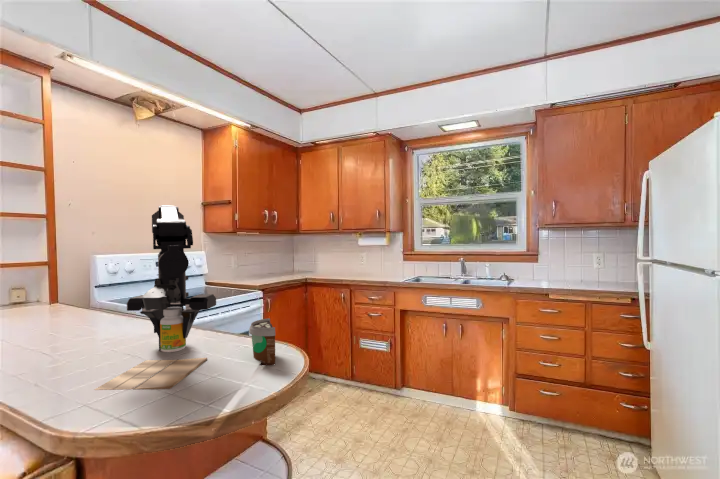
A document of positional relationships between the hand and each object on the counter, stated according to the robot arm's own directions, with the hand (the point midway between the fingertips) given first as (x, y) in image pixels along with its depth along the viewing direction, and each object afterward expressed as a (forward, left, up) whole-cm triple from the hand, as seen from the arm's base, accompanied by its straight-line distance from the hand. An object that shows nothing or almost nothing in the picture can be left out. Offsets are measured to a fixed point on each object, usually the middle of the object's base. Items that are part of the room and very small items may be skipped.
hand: (173, 338), depth 84 cm
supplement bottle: (0, 0, -3) cm, 3 cm away
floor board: (0, -8, -9) cm, 12 cm away
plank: (0, 0, -9) cm, 9 cm away
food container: (-11, +18, -10) cm, 23 cm away
